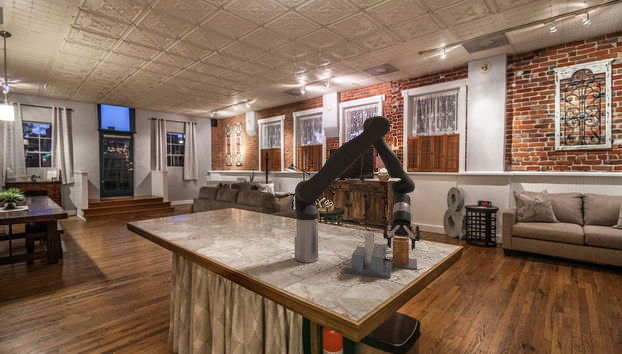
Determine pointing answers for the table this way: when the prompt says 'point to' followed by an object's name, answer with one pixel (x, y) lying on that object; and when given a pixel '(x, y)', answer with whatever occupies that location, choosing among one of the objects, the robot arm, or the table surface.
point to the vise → (370, 260)
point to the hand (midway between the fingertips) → (401, 248)
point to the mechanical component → (382, 246)
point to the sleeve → (401, 251)
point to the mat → (411, 265)
